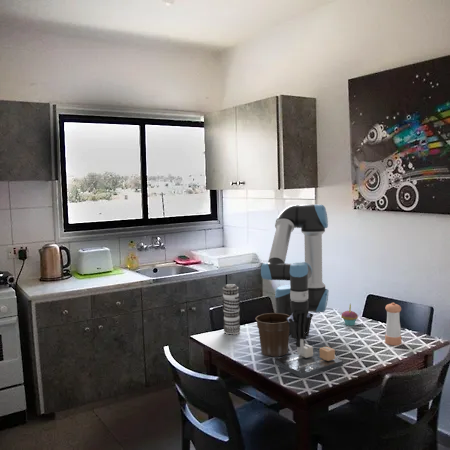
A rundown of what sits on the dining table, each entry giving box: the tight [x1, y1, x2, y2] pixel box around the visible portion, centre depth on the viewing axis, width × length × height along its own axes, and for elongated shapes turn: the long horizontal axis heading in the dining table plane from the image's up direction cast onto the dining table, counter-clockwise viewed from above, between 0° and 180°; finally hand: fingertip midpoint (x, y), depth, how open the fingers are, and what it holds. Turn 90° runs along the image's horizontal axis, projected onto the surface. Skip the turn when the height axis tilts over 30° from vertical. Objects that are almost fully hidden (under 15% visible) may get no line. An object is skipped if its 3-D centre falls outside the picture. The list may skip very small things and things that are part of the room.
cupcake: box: [340, 303, 359, 327], centre depth 256 cm, size 9×8×12 cm
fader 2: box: [319, 346, 336, 361], centre depth 205 cm, size 5×4×4 cm
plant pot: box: [255, 312, 290, 358], centre depth 220 cm, size 16×16×16 cm
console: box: [274, 347, 344, 379], centre depth 205 cm, size 18×22×2 cm
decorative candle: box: [221, 283, 241, 335], centre depth 249 cm, size 9×9×25 cm
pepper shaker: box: [384, 302, 403, 346], centre depth 226 cm, size 7×7×19 cm
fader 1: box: [299, 343, 314, 358], centre depth 209 cm, size 5×4×4 cm
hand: (300, 353), depth 208 cm, fingers closed
